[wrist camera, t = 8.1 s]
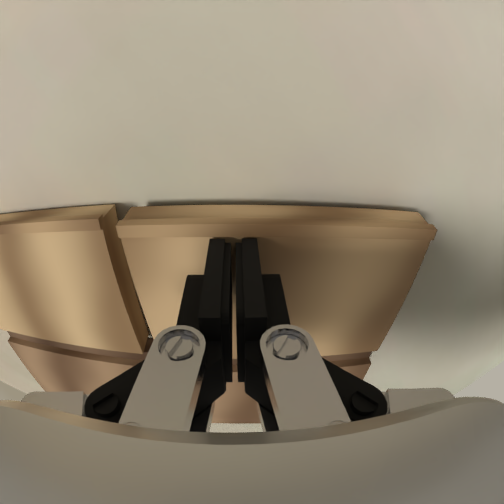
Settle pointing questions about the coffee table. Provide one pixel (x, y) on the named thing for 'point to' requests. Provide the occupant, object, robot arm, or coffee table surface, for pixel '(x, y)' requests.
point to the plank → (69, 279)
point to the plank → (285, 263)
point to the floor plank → (115, 363)
